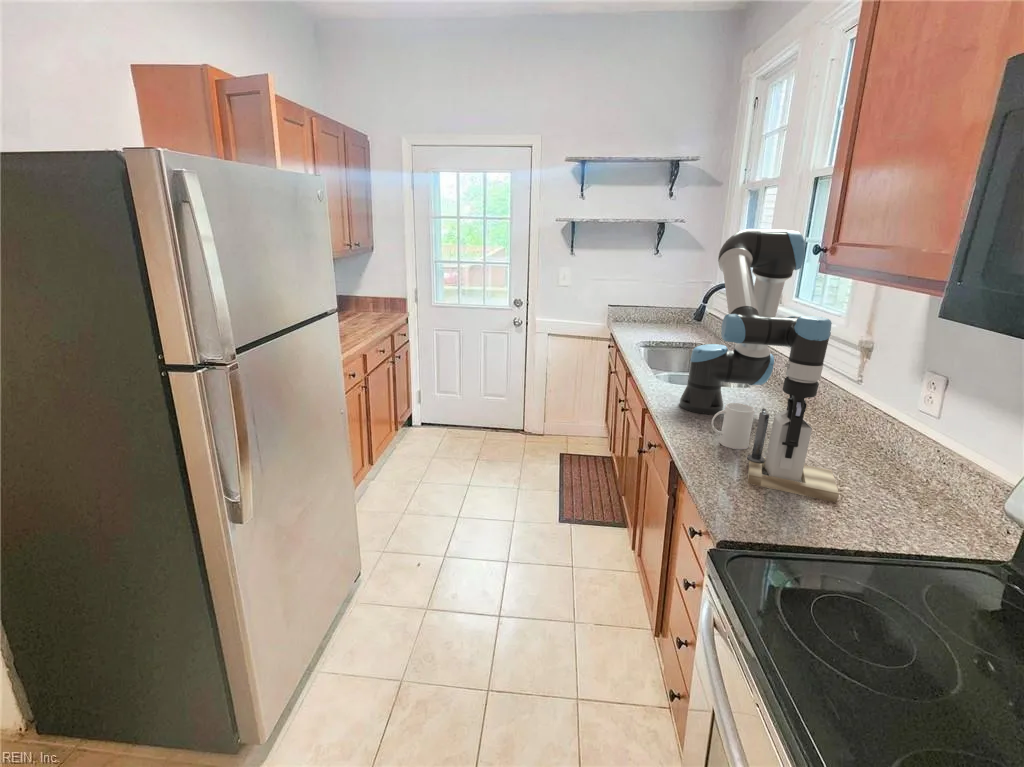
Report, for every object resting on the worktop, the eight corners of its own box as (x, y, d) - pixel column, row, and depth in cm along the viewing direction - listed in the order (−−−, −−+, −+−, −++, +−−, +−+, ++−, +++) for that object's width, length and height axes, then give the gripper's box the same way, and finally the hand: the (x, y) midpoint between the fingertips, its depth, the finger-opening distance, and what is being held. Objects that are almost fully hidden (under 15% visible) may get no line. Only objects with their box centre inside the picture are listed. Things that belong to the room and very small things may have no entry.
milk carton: (792, 470, 138) (806, 404, 132) (800, 482, 131) (815, 413, 125) (763, 466, 139) (776, 401, 133) (770, 478, 132) (784, 410, 127)
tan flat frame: (748, 462, 144) (750, 454, 144) (829, 478, 137) (831, 470, 136) (747, 483, 132) (749, 474, 132) (836, 502, 124) (838, 493, 124)
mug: (710, 446, 154) (716, 409, 151) (706, 435, 162) (711, 400, 159) (751, 451, 152) (758, 413, 149) (745, 440, 160) (751, 404, 157)
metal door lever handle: (746, 459, 146) (755, 407, 142) (762, 462, 145) (773, 409, 140) (745, 469, 140) (755, 415, 135) (763, 472, 138) (773, 418, 134)
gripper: (783, 367, 138) (768, 444, 144) (787, 387, 119) (769, 474, 126) (815, 371, 135) (798, 449, 141) (823, 392, 116) (803, 481, 123)
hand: (784, 461), depth 134 cm, fingers open, 8 cm apart
